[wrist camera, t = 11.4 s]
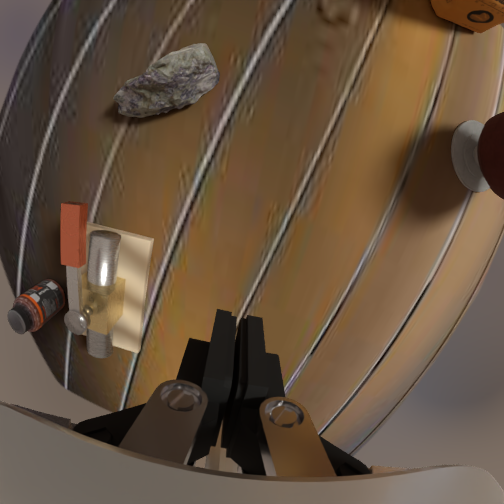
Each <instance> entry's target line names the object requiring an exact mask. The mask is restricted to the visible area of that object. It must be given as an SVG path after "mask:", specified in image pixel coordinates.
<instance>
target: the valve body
mask: <svg viewBox="0 0 504 504" xmlns="http://www.w3.org/2000/svg"><path fill="white" fill-rule="evenodd" d="M120 242H121V235H120V234H118V233H116V232H113V231H108V230H94V231H92V232H91V233H90V241H89V253H88V268H87V272H86V273H84V274H83V275H82V296H83V309H85V310H86V311H87V313H88V314H89V316H90V320H91V323H90V326H89V327H88V328H87V329H86V336H87V351H88V353H89V354H90V355H92V356H94V357H97V358H106V357H109V356H110V355H111V354H112V353H113V328H114V325H115V324H116V323H117V321H118V320H119V319H120V317H121V316H122V315H123V305H124V293H125V282H126V279H124V278H120V277H117V268H118V259H119V250H120Z"/></svg>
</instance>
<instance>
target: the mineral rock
mask: <svg viewBox="0 0 504 504" xmlns="http://www.w3.org/2000/svg"><path fill="white" fill-rule="evenodd" d="M219 76H220V73H219V71H218V69H217V67H216V64H215V61H214V58H213V56H212V54H211V52H210V50H209V48H208V46H207V45H206V44H200V43H199V44H193V45H190V46H187V47H184V48H182V49H180V51H176V52H171V53H170V54H168V55H166V56H165V57H163V58H161V59H160V60H158V61H157V62H155V63H154V64H153V65H150V66H149V67H148V69H147V71H146V72H145V73H144V74H142V75H140V76H138V77H135V78H133V79H130V80H128V81H126V82H125V84H124V85H123V87H122V88H121V89H120V90H119V91H118V92H117V94H116V95H115V96H114V100H115V101H116V102H118V103H119V106H118V109H119V111H118V112H119V113H120V114H122V115H126V116H128V117H135V116H136V117H139V118H143V117H146V116H150V115H155V114H160V113H161V112H164V113H167V112H168V111H170V110H171V109H174V108H178V109H181V108H183V107H184V106H185V105H189V104H194V103H196V101H197V100H198V99H199V98H200V97H201V96H202V95H203V94H205V93H207V92H208V91H210V90H211V89H212V88H213V87H214V86H215V85H216V84H217V83H218V81H219Z"/></svg>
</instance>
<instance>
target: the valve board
mask: <svg viewBox="0 0 504 504" xmlns="http://www.w3.org/2000/svg"><path fill="white" fill-rule="evenodd" d="M94 230H108V231H113V232H116V233H118V234H120V235H121V242H120V250H119V259H118V268H117V277H120V278H124V279H126V282H125V293H124V305H123V315H122V316H121V317H120V319H119V320H118V321H117V323H116V324H115V325H114V328H113V345H114V346H117V347H120V348H123V349H126V350H129V351H132V352H136V353H138V352H139V350H140V349H141V338H142V327H143V317H144V307H145V298H146V290H147V282H148V275H149V268H150V261H151V254H152V248H153V242H154V238H150V237H145V236H141V235H137V234H133V233H129V232H125V231H121V230H117V229H113V228H109V227H105V226H101V225H97V224H93V223H89V222H87V230H86V264H85V265H83V266H82V267H81V276H82V275H83V274H84V273H86V272H87V268H88V253H89V241H90V233H91V232H92V231H94ZM82 335H85V336H86V330H85V331H84V333H82Z"/></svg>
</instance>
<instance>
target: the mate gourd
mask: <svg viewBox="0 0 504 504" xmlns="http://www.w3.org/2000/svg"><path fill="white" fill-rule="evenodd" d="M451 157H452V162H453V166H454V169H455V172H456V174H457V176H458V178H459V180H460V181H461V183H462V184H463V185H464V186H465V187H466V188H468V189H470V190H472V191H475V192H483V191H486V190H487V189H489V188H491V189H492V191H493V192H494V193H495V194H497V195H498V196H499V197H501V198H502V199H504V112H502V113H499V114H497V115H495V116H494V117H492V118H490V119H489V120H488V121H487V122H486V124H485V125H483V124H482V123H480V122H478V121H474V120H471V121H465V122H463V123H461V124H460V125H459V126H458V127H457V129H456V130H455V132H454V135H453V138H452V143H451Z"/></svg>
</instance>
